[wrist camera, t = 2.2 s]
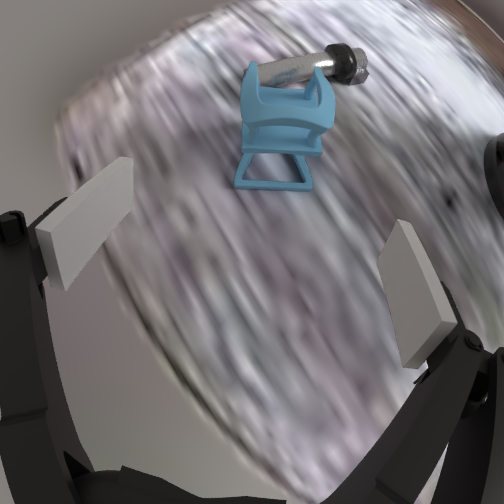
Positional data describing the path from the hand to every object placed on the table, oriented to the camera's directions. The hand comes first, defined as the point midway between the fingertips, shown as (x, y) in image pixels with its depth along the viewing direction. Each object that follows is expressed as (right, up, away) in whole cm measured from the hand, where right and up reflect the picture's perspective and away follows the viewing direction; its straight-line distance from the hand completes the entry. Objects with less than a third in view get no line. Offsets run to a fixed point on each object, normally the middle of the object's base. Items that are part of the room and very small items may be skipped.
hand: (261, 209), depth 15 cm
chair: (+2, +8, +17) cm, 19 cm away
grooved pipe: (+6, +18, +18) cm, 27 cm away
